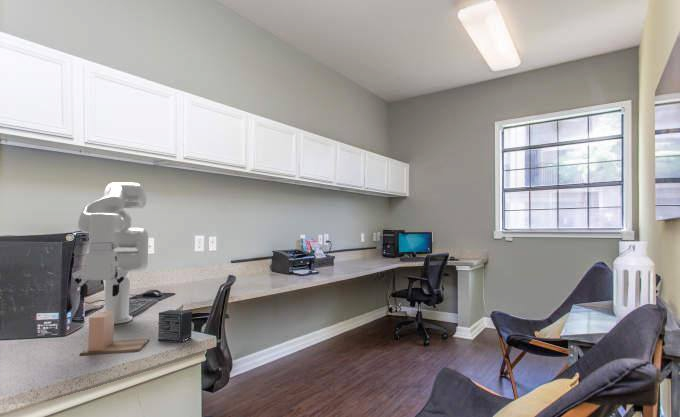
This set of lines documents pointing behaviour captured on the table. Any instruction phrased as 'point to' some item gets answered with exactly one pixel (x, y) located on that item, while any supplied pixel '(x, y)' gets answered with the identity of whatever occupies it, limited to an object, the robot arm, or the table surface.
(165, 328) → the small box
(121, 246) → the robot arm
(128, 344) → the walnut board
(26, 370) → the table surface
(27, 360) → the table surface
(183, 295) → the table surface
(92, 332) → the tan wooden block
